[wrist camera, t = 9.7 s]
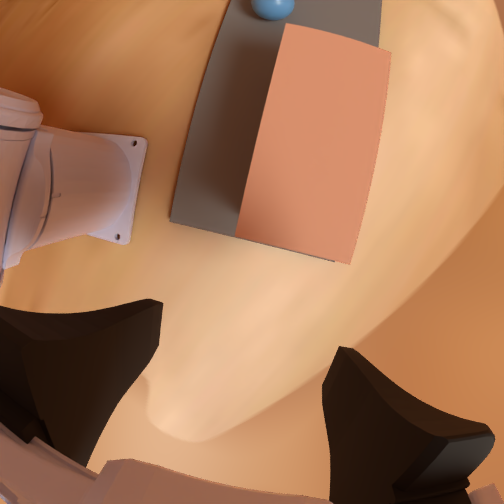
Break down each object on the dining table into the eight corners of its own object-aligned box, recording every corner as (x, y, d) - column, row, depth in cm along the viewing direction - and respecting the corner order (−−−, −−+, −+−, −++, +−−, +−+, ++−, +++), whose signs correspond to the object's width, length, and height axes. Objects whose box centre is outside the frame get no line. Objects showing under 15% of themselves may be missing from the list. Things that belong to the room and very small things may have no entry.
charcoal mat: (172, 220, 20) (169, 221, 19) (253, -46, 14) (252, -49, 14) (333, 260, 19) (334, 262, 19) (381, -20, 14) (382, -23, 13)
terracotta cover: (248, 222, 19) (234, 236, 13) (284, 68, 16) (286, 23, 10) (328, 242, 18) (349, 264, 13) (361, 88, 16) (391, 52, 10)
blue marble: (248, 24, 16) (244, 2, 13) (258, -2, 15) (254, -25, 12) (289, 30, 16) (290, 8, 13) (297, 3, 15) (298, -19, 12)
